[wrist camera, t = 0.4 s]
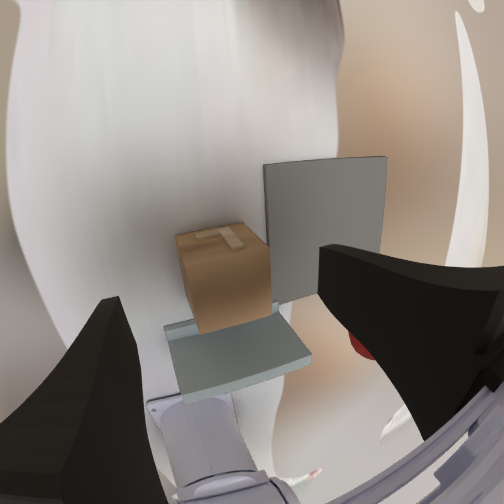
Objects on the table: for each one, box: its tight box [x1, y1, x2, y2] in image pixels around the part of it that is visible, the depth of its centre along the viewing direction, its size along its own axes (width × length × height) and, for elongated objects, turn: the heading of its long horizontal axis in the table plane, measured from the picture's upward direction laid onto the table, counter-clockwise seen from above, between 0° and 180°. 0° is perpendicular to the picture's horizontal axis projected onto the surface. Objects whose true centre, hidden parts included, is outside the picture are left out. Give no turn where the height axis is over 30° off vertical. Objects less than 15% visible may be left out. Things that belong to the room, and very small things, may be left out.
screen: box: [164, 300, 312, 404], centre depth 20 cm, size 3×9×6 cm, turn 94°
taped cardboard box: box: [175, 222, 272, 335], centre depth 18 cm, size 5×5×5 cm
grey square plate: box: [263, 156, 387, 305], centre depth 23 cm, size 11×11×1 cm
